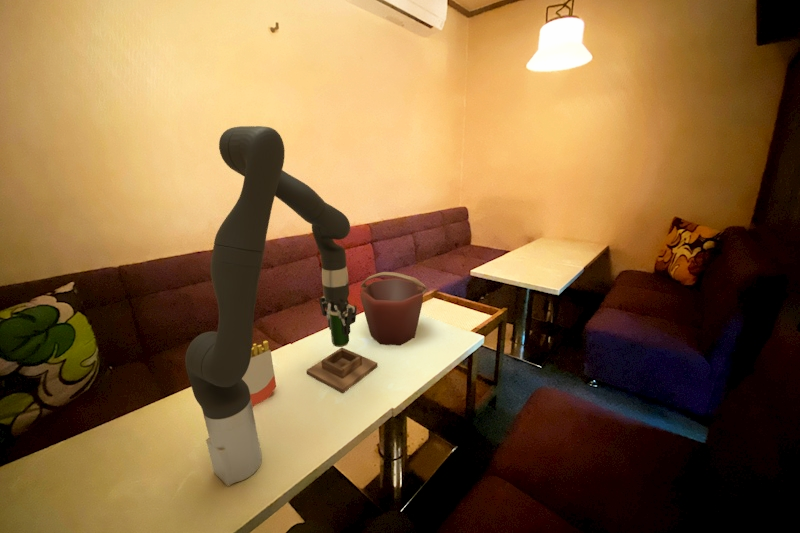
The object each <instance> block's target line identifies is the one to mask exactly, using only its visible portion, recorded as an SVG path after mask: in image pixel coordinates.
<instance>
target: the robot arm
mask: <svg viewBox="0 0 800 533" xmlns="http://www.w3.org/2000/svg"><path fill="white" fill-rule="evenodd" d="M218 148H219V153H220V154H219V155H220V156H221V159H222V160H223V161H224V164H226V166H227V167H228V168H229V169H231V170H233V171H234V172H236V173H237V174H239V175H241V176H242V177H243V178H244V179H243V183H242V188H241V192H240V194H239V196H238V199H237V200H236V203H235V205H234V206H233V208H232V209H231V210H230V212H229V213H228V215H227V216H226V217H225V219H224V220H223V221H222V223H221V225H220V226H219V228H218V230H217V233H216V235H215V237H214V242H213V247H212V248H213V249H212V255H211V258H210V259H211V261H210V268H209V269H210V277H211V282H212V287H213V291H214V294H215V297H216V302H217V308H218V324H217V331H215V330H214V331H212V330H211V331H207V332H203V333H201V334H199V335H197V336H196V337H194V339H193V340H191V342H190V344H189V345H188V347H187V349H186V352H185V359H184V360H185V361H184V362H185V370H186V372H187V377H188V380H189V383H190V387H191V389H192V392H193V396H194V398H195V400H196V402H197V404H199V406H200V408H201V410H202V414H203V418H204V421H205V426H206V431H207V435H208V437H207V438H206V440H205V442H206V446H207V450H208V453H209V459H210V462H211V467H212V470H213V473H214V475H216V476H217V477H218V478H219V479H220V480H221V481H222V482H223V483H224V484H225V485H226V486H227V487H230V486H231V485H233V484H235V483H238V482H242V481H245V480H247V479H248V478H249V477H251V476H253V475H254V474H255V473H256V472H257V470H258V469H259V468H260V466H261V463H262V462H263V461H262V460H263V456H262V450H261V447H260V446H261V444H260V440H259V435H258V431H257V430H258V429H257V425H256V420H255V415H254V414H255V413H254V409H253V407H254V406H252V402H251V397H250V391H249V388H248V385H247V384H246V383H245V382H244V381H243V380H242V378H243V376H244V375H245V373H246V371H247V369H248V366H249V363H250V359H251V352H252V347H253V338H254V337H253V336H254V334H253V332H254V320H255V309H256V302H257V296H258V288H259V282H260V276H261V273H262V272H261V271H262V266H263V260H264V255H265V249H266V240H267V235H268V228H269V223H270V218H271V213H272V209H273V204H274V200H275V198H277V199H278V200H280V202H282V203H284V204H285V205H286V206H288V207H289V208H290V209H291V210H292V211H293V212H294V213H296V214H297V215H298V216H299V217H300V218H301V219H303V220H304V221H305V222H306V223H309V224H310V225H311V232H312V235H313V237H314V241H315V244H316V246H317V249H318V251H319V254H320V261H321V262H320V264H321V281H322V293H323V296H321V297H319V298H318V302H319V305H320V306H319V307H320V309H321V310H320V311H321V313H322V316H323V317H325V318H326V319H327V322H328V323H327V324H328V329H329V331H331V328H330V317H329V311H330V310H331V309H333V310H336V311H337V312H338V315H339V319H341V321H342V323H343V325H342V326H343V335H344V336H347V335H348V334H349V335H350V334H351V325H352V324H354V323H356V319H357V318H356V317H357V311H358V310H357V308H358V307H357V305H355V304H354V305H351V304H350V302H349V299H348V298H349V296H350V286H349V285H350V284H349V273H348V272H349V271H348V267H347V254H346V249H345V248H344V247H343V246H342V245H339V244H337V242H335V241H336V240H338V241H339V240H343V239H346V238H347V237H348V236H349V235H350V234H349V233H350V232H351V223H350V220H349V219H348V217H347V216H346V215H345V214H344V213H343V212H342V211H340V210H339V209H338V208H336V207H334V206H332V205H331V204H329V203H327V202H325V201H324V199H323V198H322V197H321V196H320V195H319V194H318V193H317V192H316V191H315V190H314V189H313V188H312V187H310V186H309V185H308V184H306V183H305V182H303V181H301V180H299V179H298V178H296V177H295V176H293V175H291V174H289V173H287V172H286V171H285V170H283V168H284V163H285V152H286V151H285V144H284V141H283V138H282V136H281V135H280V133H279V132H278V131H277V130H276V129H274V128H273V127H269V126H263V125H261V126H260V125H256V126H255V125H252V126H251V125H246V126H245V125H244V126H234V127H230V128H228V129H226V130H224V131H223V132H222V134H221V135H220V138H219V142H218ZM345 311H347V312H346V314H344V315H342V313H343V312H345ZM345 317H346V319H347V320H346V321H345Z"/></svg>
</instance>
